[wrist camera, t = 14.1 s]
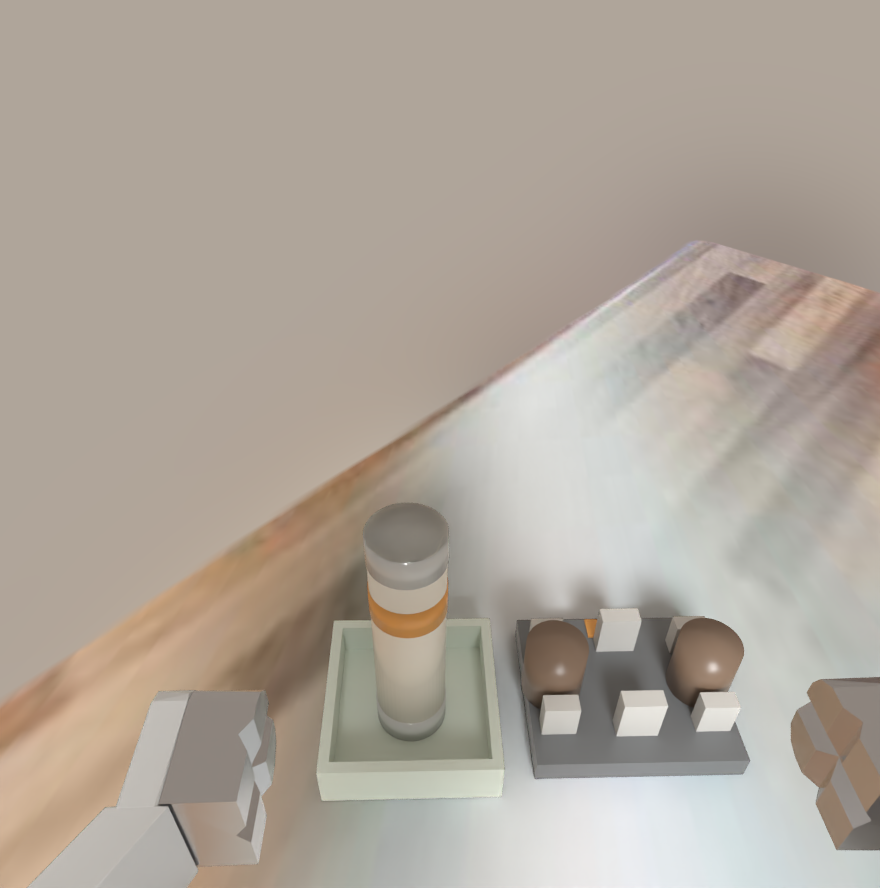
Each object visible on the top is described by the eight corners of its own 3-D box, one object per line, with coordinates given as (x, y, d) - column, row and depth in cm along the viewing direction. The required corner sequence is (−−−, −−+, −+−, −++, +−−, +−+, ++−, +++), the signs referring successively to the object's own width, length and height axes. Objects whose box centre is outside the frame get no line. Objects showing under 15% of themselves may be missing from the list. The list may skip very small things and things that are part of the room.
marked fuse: (376, 742, 41) (360, 564, 32) (379, 680, 44) (365, 503, 35) (446, 740, 41) (450, 563, 32) (444, 679, 44) (448, 502, 35)
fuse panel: (534, 778, 40) (542, 735, 37) (515, 634, 48) (520, 590, 45) (743, 774, 40) (765, 731, 38) (689, 631, 48) (705, 587, 46)
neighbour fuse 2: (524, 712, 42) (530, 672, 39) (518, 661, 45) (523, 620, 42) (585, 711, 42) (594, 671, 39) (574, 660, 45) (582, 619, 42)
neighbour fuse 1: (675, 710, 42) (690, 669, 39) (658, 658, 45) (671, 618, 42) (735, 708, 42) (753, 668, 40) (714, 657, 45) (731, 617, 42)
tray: (321, 800, 39) (316, 773, 37) (337, 649, 47) (333, 620, 45) (501, 797, 39) (504, 769, 37) (487, 647, 47) (489, 618, 45)
